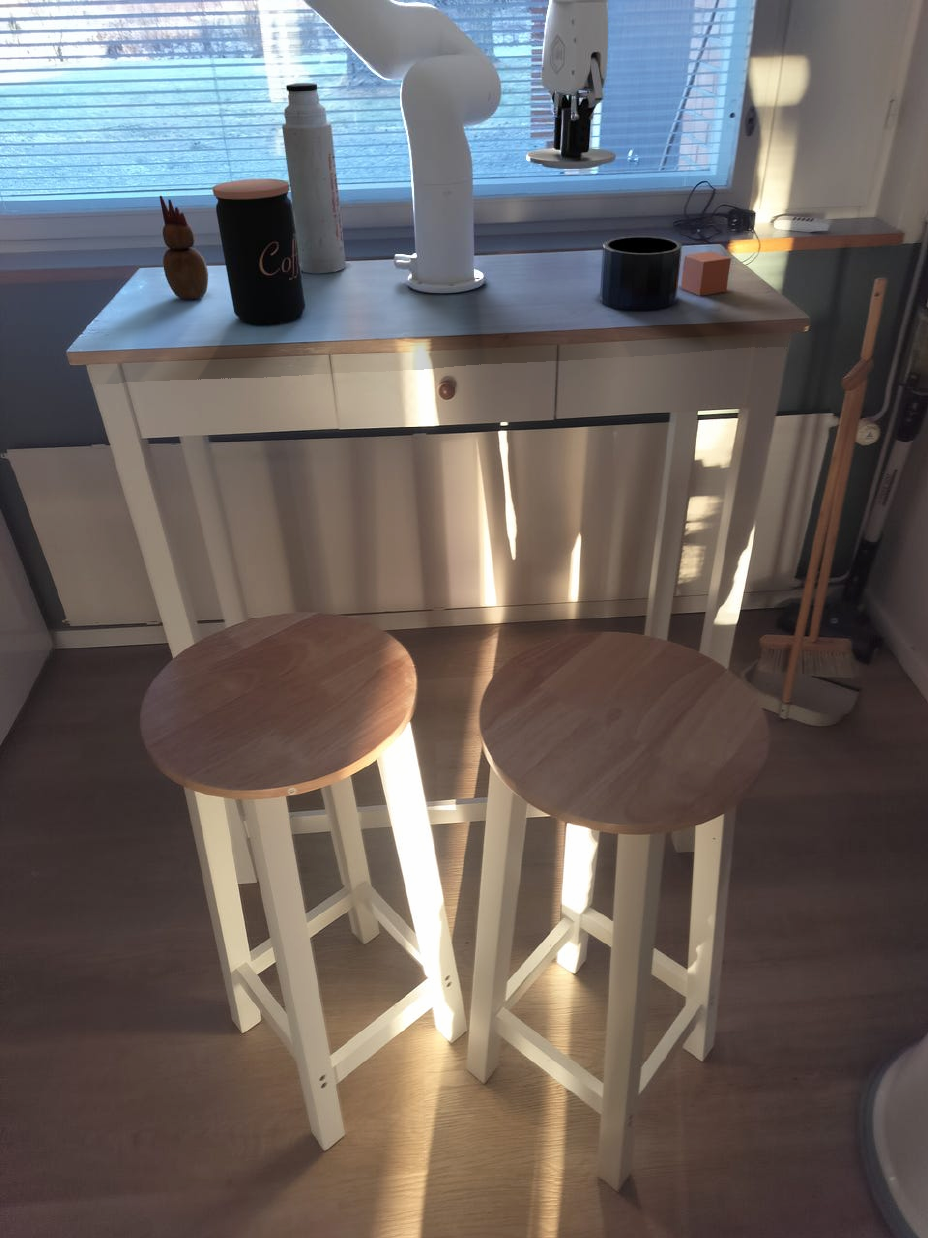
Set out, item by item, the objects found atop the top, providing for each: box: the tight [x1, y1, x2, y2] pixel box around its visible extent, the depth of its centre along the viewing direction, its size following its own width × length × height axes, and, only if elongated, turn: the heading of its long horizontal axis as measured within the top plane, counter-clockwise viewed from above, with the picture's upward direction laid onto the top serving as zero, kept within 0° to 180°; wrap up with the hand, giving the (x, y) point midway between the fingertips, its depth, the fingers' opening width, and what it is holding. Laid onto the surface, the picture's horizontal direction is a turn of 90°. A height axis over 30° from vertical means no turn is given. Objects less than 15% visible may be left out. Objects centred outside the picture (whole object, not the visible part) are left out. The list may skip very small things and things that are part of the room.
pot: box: [599, 235, 683, 312], centre depth 131 cm, size 11×12×8 cm
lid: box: [525, 108, 617, 170], centre depth 120 cm, size 12×12×7 cm
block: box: [680, 250, 732, 297], centre depth 136 cm, size 5×5×5 cm
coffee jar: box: [212, 178, 306, 326], centre depth 126 cm, size 11×11×18 cm
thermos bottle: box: [281, 82, 347, 274], centre depth 146 cm, size 8×8×28 cm
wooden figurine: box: [159, 195, 209, 301], centre depth 137 cm, size 7×6×15 cm
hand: (571, 149), depth 121 cm, fingers closed on lid, 3 cm apart
